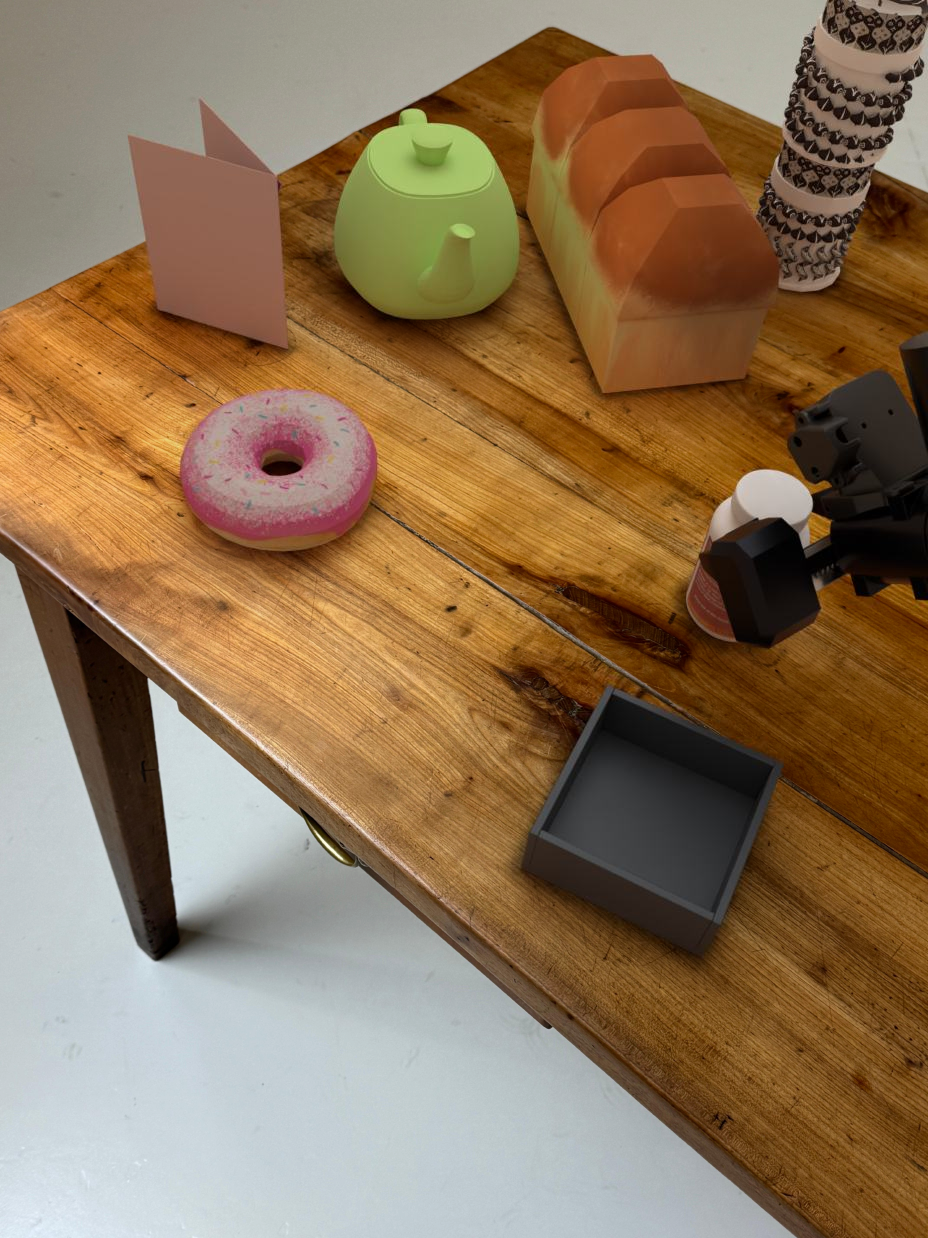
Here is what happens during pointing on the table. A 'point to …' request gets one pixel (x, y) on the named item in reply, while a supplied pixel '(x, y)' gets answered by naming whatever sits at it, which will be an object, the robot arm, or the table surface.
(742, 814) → the bin
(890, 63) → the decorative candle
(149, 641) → the table surface
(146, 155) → the greeting card
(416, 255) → the teapot
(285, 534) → the donut
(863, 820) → the table surface
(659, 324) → the bread
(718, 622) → the pill bottle
